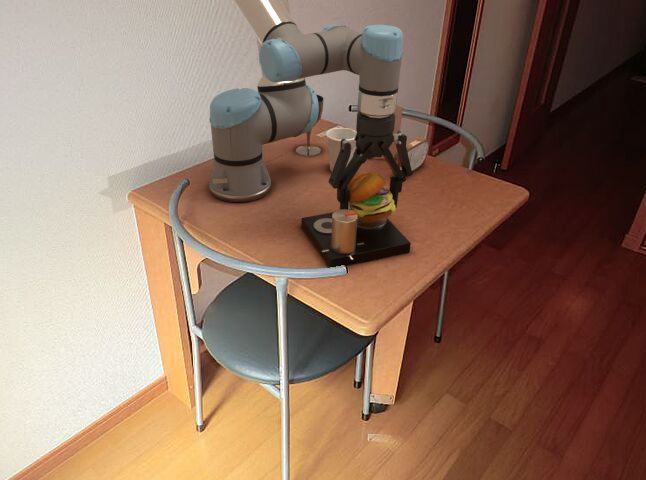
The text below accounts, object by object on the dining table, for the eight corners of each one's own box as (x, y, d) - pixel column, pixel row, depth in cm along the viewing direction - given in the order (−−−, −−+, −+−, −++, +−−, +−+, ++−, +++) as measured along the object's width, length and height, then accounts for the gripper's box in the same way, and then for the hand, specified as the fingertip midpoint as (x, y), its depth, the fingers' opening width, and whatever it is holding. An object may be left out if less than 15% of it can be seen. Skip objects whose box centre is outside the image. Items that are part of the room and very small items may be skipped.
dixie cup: (361, 166, 150) (363, 131, 144) (347, 178, 143) (350, 142, 138) (333, 159, 153) (334, 125, 147) (319, 171, 147) (320, 135, 141)
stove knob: (336, 256, 110) (338, 222, 105) (327, 243, 114) (328, 210, 109) (359, 251, 111) (362, 218, 107) (349, 238, 115) (351, 206, 111)
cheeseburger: (394, 226, 116) (387, 184, 110) (344, 230, 119) (335, 189, 113) (398, 202, 124) (391, 162, 118) (351, 207, 127) (343, 168, 122)
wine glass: (327, 149, 158) (329, 97, 150) (312, 158, 153) (313, 105, 144) (304, 142, 162) (304, 91, 153) (288, 151, 156) (288, 99, 148)
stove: (298, 227, 123) (298, 217, 122) (373, 214, 129) (374, 204, 127) (330, 274, 109) (330, 263, 108) (413, 256, 115) (414, 246, 113)
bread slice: (418, 160, 154) (422, 131, 149) (428, 163, 152) (432, 134, 147) (388, 178, 144) (391, 148, 139) (398, 182, 142) (402, 152, 137)
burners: (307, 219, 121) (307, 218, 121) (376, 207, 126) (376, 205, 126) (321, 239, 115) (321, 237, 115) (393, 225, 120) (393, 223, 120)
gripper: (328, 125, 101) (324, 227, 114) (438, 111, 109) (423, 209, 121) (313, 111, 107) (311, 210, 120) (419, 99, 114) (407, 193, 127)
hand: (368, 210), depth 120 cm, fingers closed on cheeseburger, 11 cm apart
